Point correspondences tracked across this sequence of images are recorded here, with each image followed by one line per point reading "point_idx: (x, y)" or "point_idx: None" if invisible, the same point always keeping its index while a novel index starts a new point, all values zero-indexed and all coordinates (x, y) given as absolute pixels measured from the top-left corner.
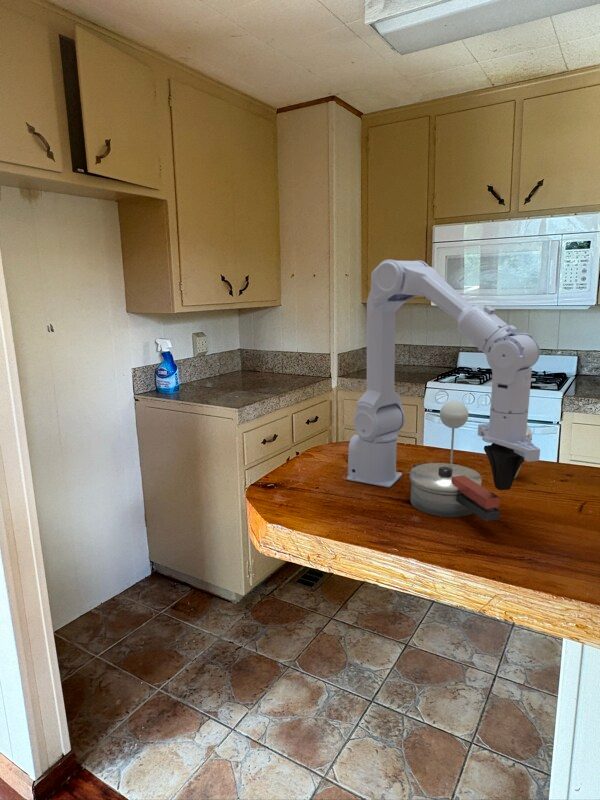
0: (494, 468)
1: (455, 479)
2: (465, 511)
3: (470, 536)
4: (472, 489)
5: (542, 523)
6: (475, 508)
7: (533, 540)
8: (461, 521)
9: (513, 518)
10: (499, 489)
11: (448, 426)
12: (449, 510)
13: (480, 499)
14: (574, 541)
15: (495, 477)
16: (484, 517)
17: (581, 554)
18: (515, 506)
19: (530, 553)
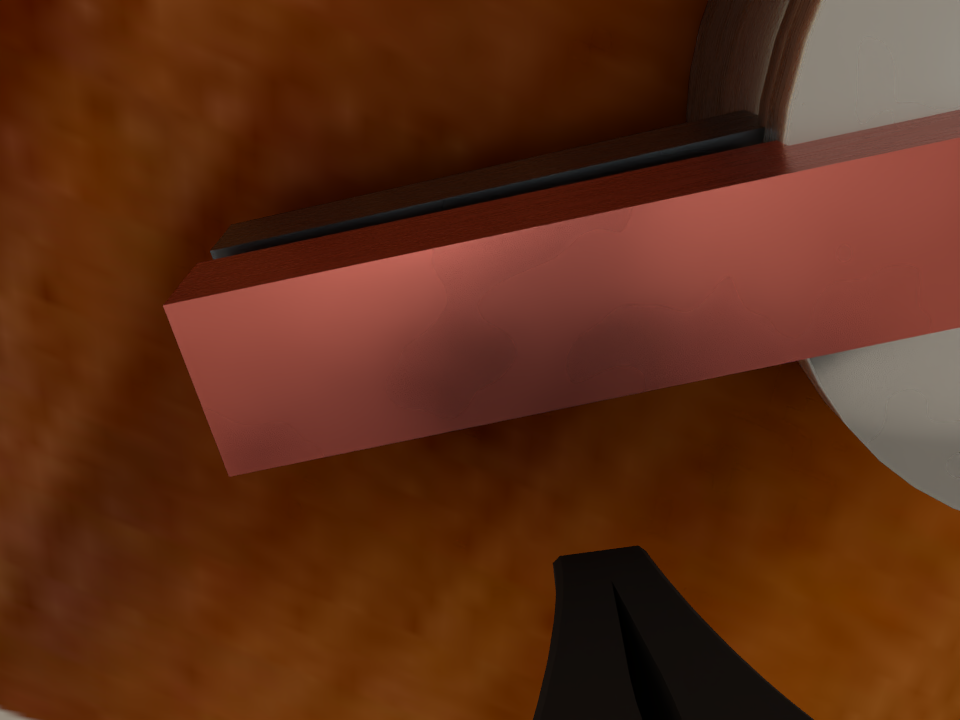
0: (676, 705)
1: (916, 147)
2: None
3: (307, 80)
4: (504, 246)
5: (482, 654)
6: (395, 201)
7: (239, 512)
8: (597, 111)
9: (582, 521)
10: (558, 562)
11: None
12: (720, 27)
13: (301, 260)
14: (230, 714)
15: (634, 622)
16: (244, 229)
17: (63, 683)
18: (761, 603)
19: (43, 419)
